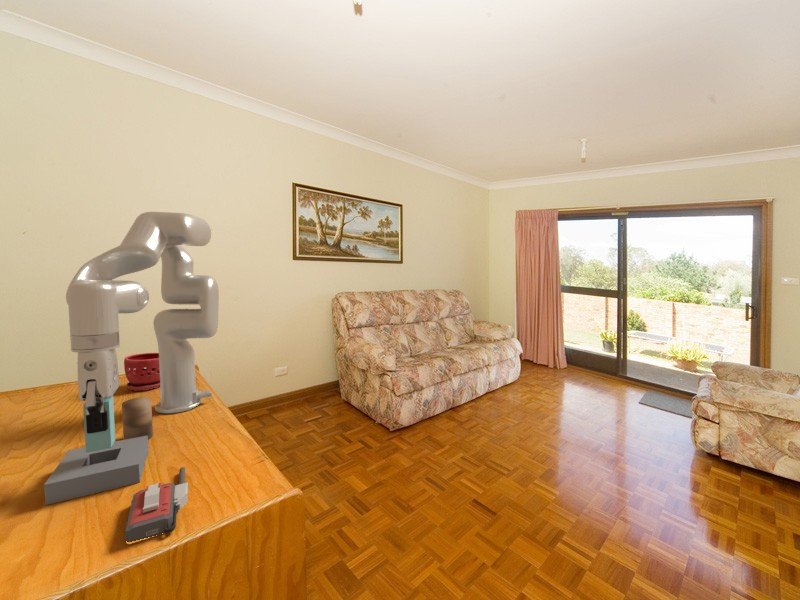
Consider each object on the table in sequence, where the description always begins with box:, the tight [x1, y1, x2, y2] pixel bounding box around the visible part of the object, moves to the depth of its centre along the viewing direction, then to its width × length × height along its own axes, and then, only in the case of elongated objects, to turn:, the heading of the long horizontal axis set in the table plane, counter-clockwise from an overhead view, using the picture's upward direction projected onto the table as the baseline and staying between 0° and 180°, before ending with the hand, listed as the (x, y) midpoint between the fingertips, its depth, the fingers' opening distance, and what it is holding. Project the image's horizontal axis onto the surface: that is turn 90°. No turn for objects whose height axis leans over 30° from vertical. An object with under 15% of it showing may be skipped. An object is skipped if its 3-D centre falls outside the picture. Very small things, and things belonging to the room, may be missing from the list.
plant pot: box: [123, 352, 160, 392], centre depth 126 cm, size 13×13×12 cm
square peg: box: [82, 395, 116, 453], centre depth 71 cm, size 4×4×10 cm
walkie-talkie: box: [124, 466, 189, 542], centre depth 63 cm, size 9×4×20 cm
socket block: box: [43, 435, 149, 506], centre depth 72 cm, size 14×14×4 cm
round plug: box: [121, 396, 154, 441], centre depth 88 cm, size 6×6×10 cm
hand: (100, 426), depth 71 cm, fingers closed on square peg, 4 cm apart
